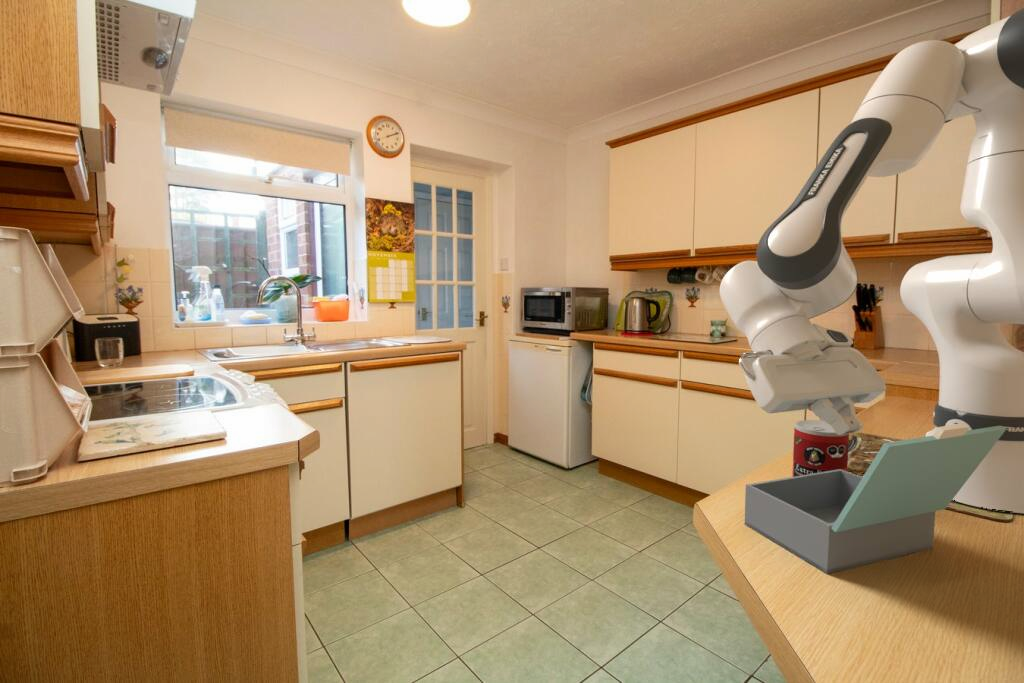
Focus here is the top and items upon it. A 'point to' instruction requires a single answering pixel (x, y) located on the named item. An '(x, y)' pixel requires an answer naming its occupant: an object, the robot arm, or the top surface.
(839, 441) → the canned food
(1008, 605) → the top surface
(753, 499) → the box
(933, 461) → the mailer lid
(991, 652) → the top surface
